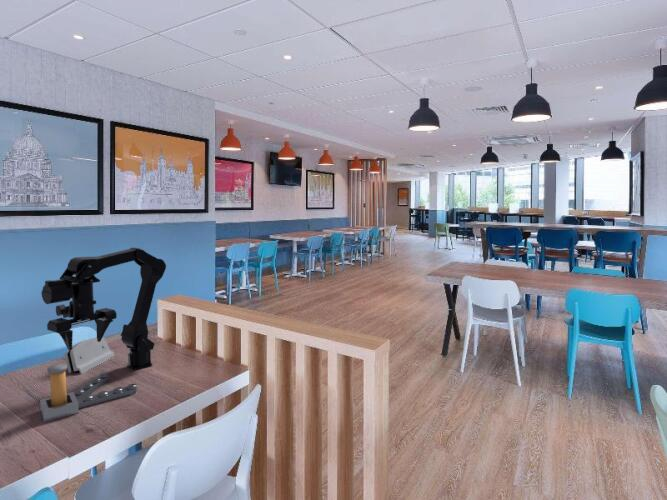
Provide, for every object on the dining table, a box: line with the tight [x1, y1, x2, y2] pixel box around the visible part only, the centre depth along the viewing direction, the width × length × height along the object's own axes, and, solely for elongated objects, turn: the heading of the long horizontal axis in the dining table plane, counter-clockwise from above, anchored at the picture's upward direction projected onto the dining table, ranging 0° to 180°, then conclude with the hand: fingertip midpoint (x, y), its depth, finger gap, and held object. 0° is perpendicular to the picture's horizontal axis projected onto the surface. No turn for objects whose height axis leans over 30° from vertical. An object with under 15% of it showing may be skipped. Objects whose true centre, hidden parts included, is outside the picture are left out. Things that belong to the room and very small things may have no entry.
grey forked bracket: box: [39, 371, 138, 423], centre depth 125 cm, size 24×19×3 cm
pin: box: [46, 363, 68, 407], centre depth 114 cm, size 5×5×13 cm
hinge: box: [64, 336, 116, 375], centre depth 147 cm, size 17×5×10 cm, turn 169°
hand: (84, 345), depth 130 cm, fingers open, 9 cm apart
